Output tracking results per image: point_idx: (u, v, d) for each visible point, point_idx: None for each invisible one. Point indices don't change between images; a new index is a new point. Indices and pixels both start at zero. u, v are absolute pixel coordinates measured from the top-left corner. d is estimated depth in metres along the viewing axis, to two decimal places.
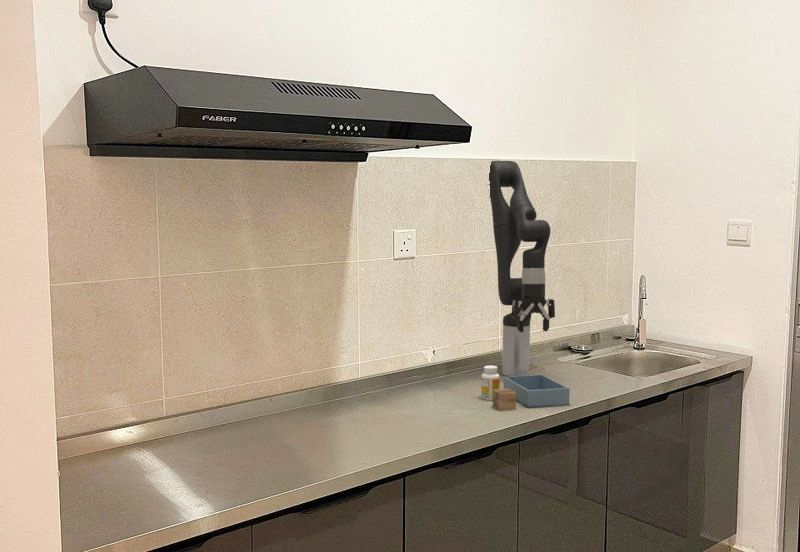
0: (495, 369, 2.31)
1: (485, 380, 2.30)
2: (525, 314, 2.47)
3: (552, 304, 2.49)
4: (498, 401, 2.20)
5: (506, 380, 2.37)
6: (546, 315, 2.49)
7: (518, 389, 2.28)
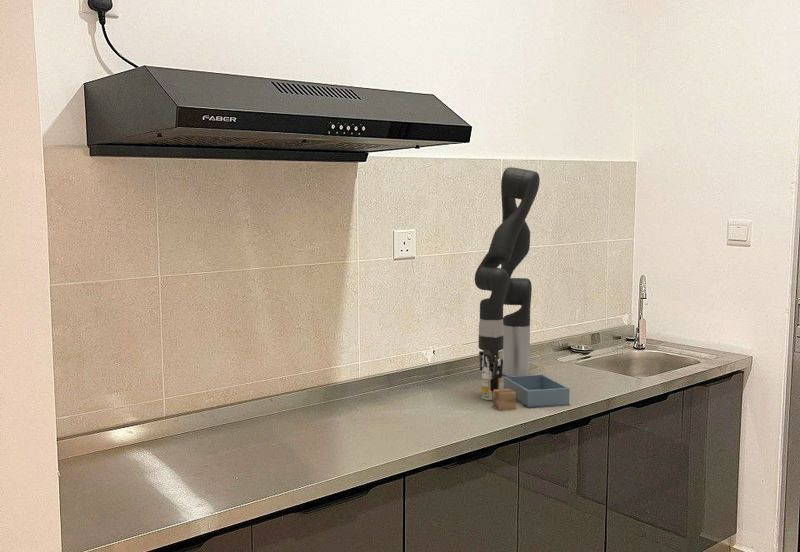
0: None
1: (485, 380, 2.30)
2: None
3: None
4: (498, 401, 2.20)
5: (506, 380, 2.37)
6: None
7: (518, 389, 2.28)
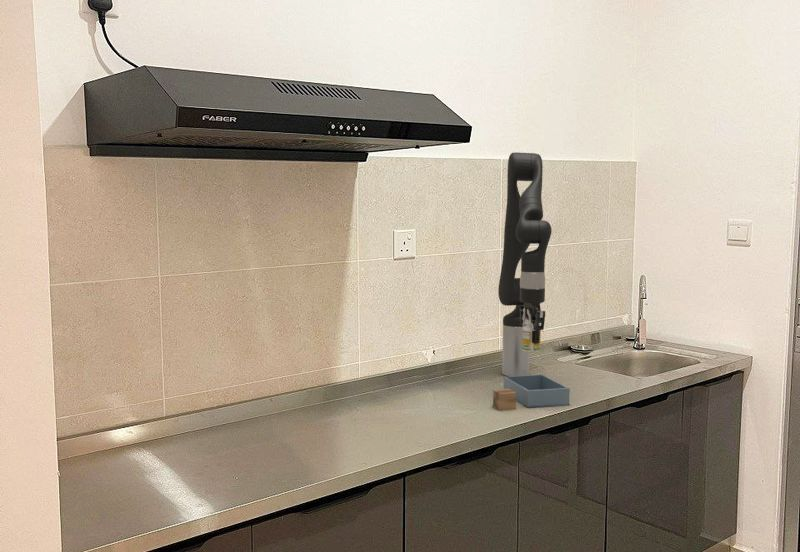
0: None
1: (527, 333, 2.32)
2: None
3: None
4: (498, 401, 2.20)
5: (506, 380, 2.37)
6: None
7: (518, 389, 2.28)
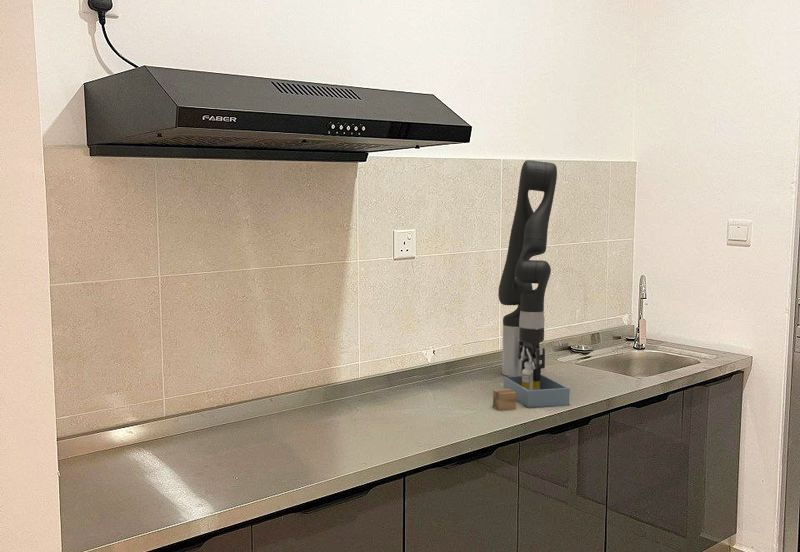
0: None
1: (526, 376, 2.33)
2: (540, 360, 2.32)
3: None
4: (498, 401, 2.20)
5: (506, 380, 2.37)
6: None
7: (518, 389, 2.28)
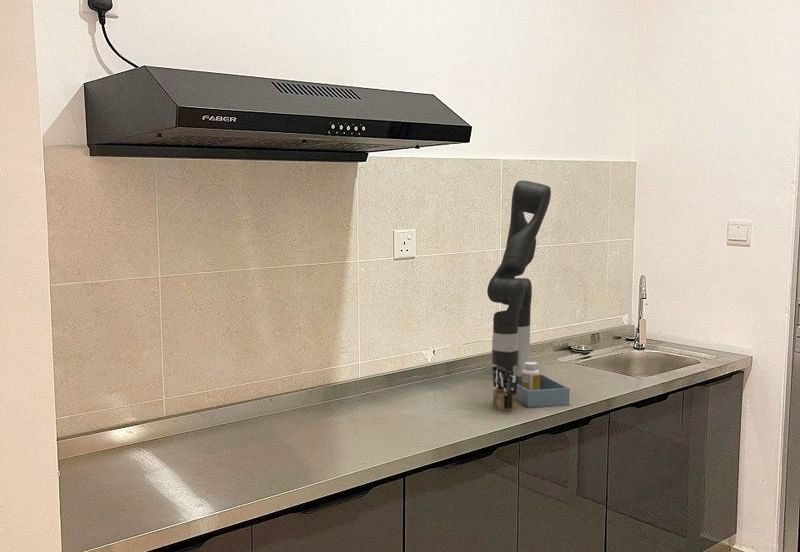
0: (535, 365, 2.33)
1: (526, 376, 2.33)
2: None
3: None
4: (498, 401, 2.20)
5: None
6: None
7: (518, 389, 2.28)
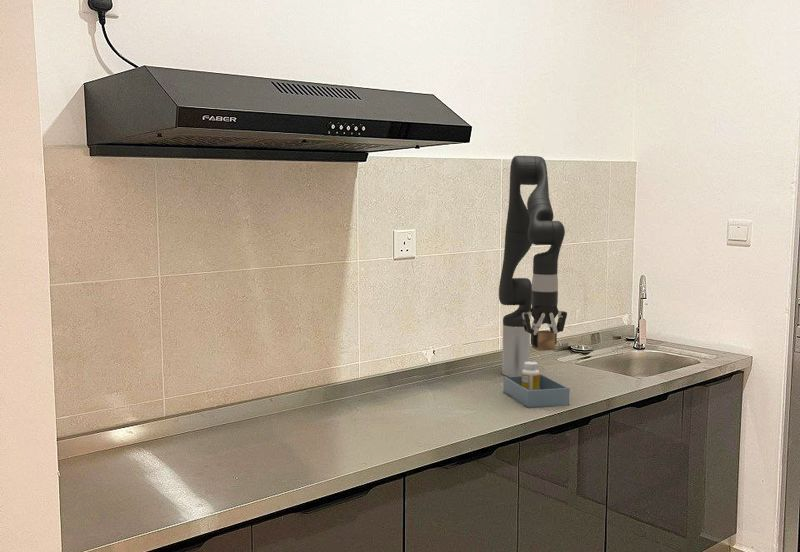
0: (535, 365, 2.33)
1: (526, 376, 2.33)
2: None
3: None
4: (552, 341, 2.24)
5: (506, 380, 2.37)
6: None
7: (518, 389, 2.28)
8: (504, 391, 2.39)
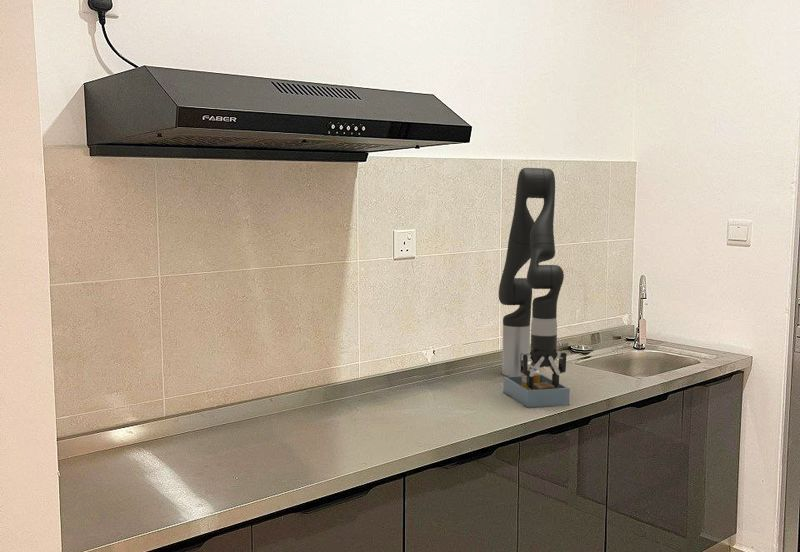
0: None
1: (526, 376, 2.33)
2: None
3: None
4: None
5: (506, 380, 2.37)
6: None
7: (518, 389, 2.28)
8: (504, 391, 2.39)
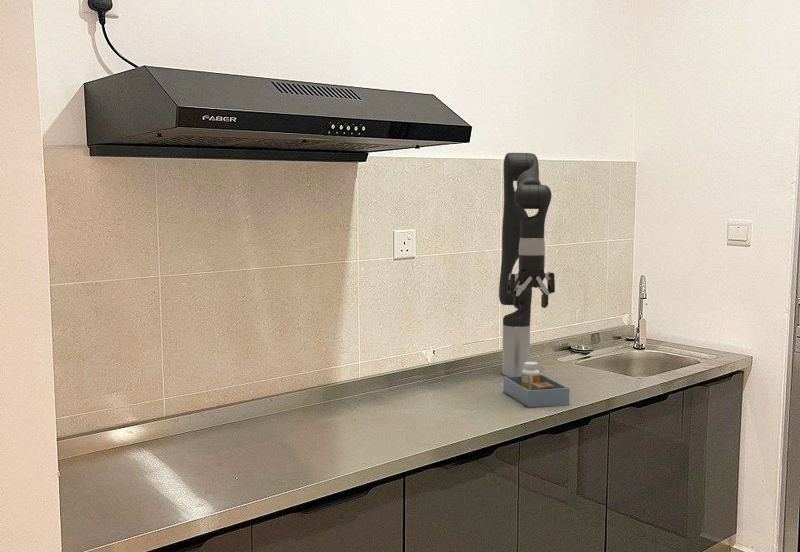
0: (535, 365, 2.33)
1: (526, 376, 2.33)
2: None
3: None
4: None
5: (506, 380, 2.37)
6: None
7: (518, 389, 2.28)
8: (504, 391, 2.39)
